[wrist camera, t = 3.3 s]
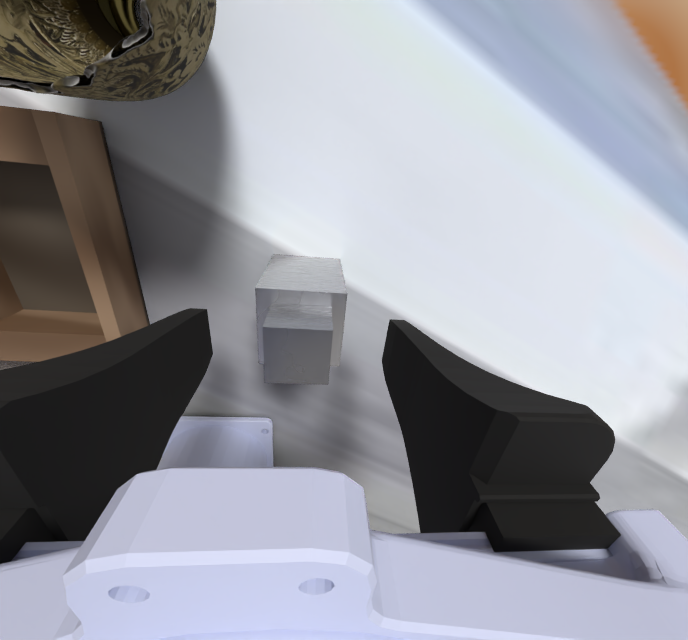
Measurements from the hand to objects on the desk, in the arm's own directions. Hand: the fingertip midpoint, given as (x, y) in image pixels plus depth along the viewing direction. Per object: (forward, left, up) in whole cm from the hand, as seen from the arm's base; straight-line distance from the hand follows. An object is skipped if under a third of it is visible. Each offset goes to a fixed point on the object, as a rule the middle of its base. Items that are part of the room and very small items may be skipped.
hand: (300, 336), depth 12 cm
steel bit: (0, 0, -6) cm, 6 cm away
